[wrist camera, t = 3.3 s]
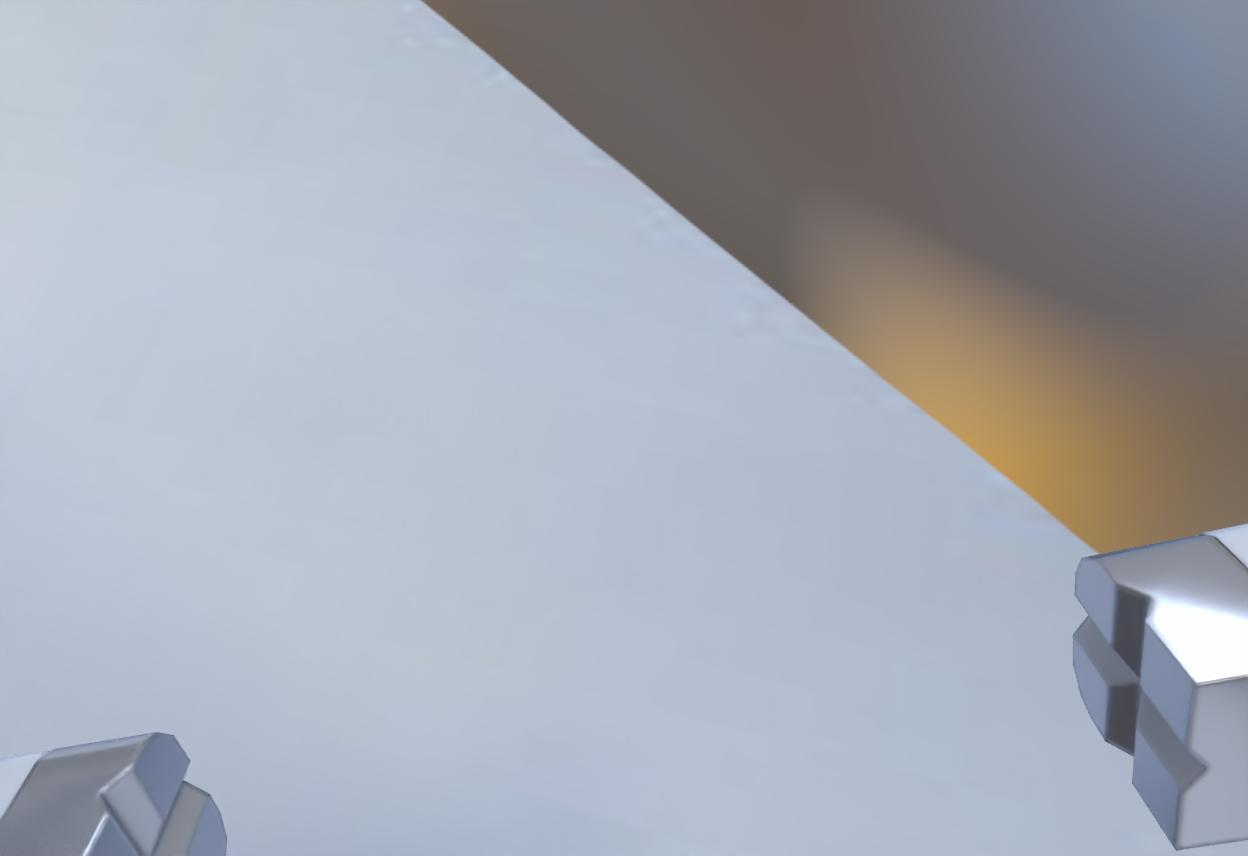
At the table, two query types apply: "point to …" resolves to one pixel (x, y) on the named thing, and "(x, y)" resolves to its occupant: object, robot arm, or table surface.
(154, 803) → the robot arm
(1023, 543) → the table surface
